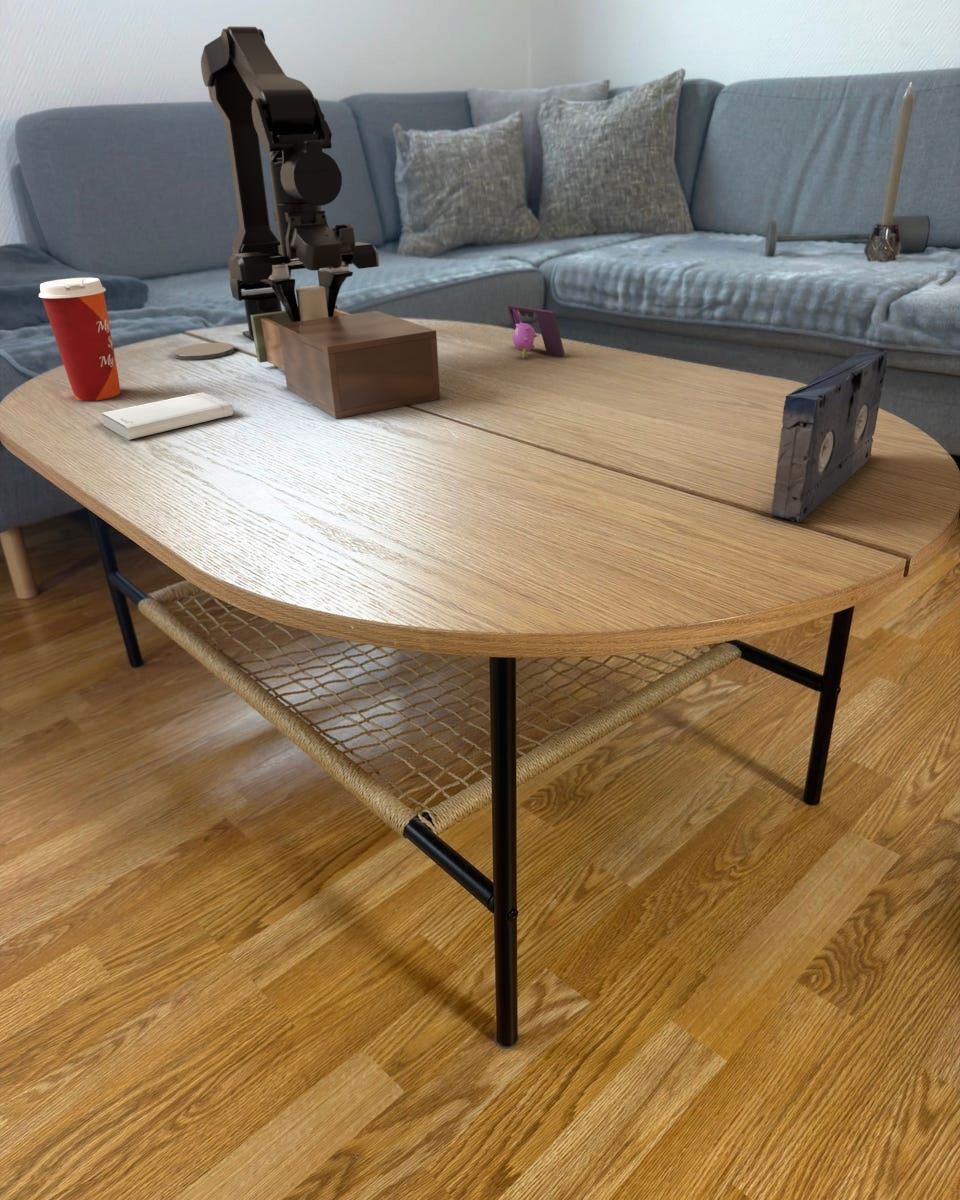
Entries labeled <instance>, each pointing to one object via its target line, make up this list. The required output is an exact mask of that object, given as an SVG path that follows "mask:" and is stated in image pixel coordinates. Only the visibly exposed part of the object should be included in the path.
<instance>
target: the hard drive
mask: <svg viewBox="0 0 960 1200" xmlns="http://www.w3.org/2000/svg"><path fill="white" fill-rule="evenodd" d="M233 415H234V408H233V405H232V404H231V403H230V402H228V401H226V400H223V399H221V398H218V397H217V396H214V395H211V394H209V393H206V392H203V391H201V392H197V393H191V394H186V395H183V396H177V397H172V398H168V399H163V400H157V401H153V402H149V403H144V404H139V405H134V406H129V407H124V408H118V409H114V410H109V411H105V412H101V413H100V417H101V421H102V425H103V426H105V427H106V428H108V429H110V430H111V431H112V432H115V433H116V434H118V435H119V436H122V437H123V438H124V439H126V440H128V441H129V440H134V439H137V438H142V437H147V436H151V435H155V434H159V433H164V432H167V431H172V430H177V429H180V428H183V427H189V426H192V425H196V424H201V423H205V422H209V421H214V420H218V419H222V418H226V417H231V416H233Z"/></svg>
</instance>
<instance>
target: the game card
mask: <svg viewBox="0 0 960 1200" xmlns="http://www.w3.org/2000/svg"><path fill="white" fill-rule="evenodd" d="M507 310H508V314H509V318H510V322H511V324H512V328H513V333H512V341H513V345H514V347H515V348H516V349H517V350H518V351H520V352H522V353H521V355H522V356H521V358H522V359H526V356H527V352H536V353H541V354H547V355H550V356H556V357H561V358H563V357H565V356H566V353H565V349H564V345H563V340H562V336H561V333H560V328H559V326H558V325H559V324H558V321H557V316H556V313H555V311H553V310H549V309H548V310H547V309H540V308H534V307H528V306H522V305H515V304H509V305H507ZM520 315H521V316H522V317H527V316H528V318H534V315H536V319H537V323H538V326H539V330H540V334H541V337H542V342H543V345H544V349H541V348H537V347H536V345H535V344H534V341H535V338H537V337H538V336H539V335H538V334H536V331H535V329H534V327H533V326H532V325H530V324H529V323H528V322H527V321H522V320H521V318H520Z"/></svg>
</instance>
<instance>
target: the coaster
mask: <svg viewBox="0 0 960 1200" xmlns="http://www.w3.org/2000/svg"><path fill="white" fill-rule="evenodd" d="M234 352H235V346H234V345H233V344H230V343H227V342H202V343H195V344H189V345H184V346H180V347H178V348H176V349H174V350H173V351H172V356H173V358H175V359H178V360H183V361H184V360H185V361H200V360H209V359H217V358H222V357H226V356H229V355H230V354H233V353H234Z"/></svg>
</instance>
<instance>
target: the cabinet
mask: <svg viewBox="0 0 960 1200" xmlns="http://www.w3.org/2000/svg"><path fill="white" fill-rule="evenodd" d="M278 327H279V335H280V342H281V349H282V356H283V363H284V370H285V371H284V375H285V383H286V389H287V390H288V391H290V392H292V393H293V394H296V396H298V397H300V398H302V399H303V400H305V401H307V403H310V404H311V405H313V406H314V407H316V408H318V409H320V410H322V412H324V413H326V414H327V415H329V416H330V417H332V418H334V419H336V420H337V419H341V418H342V419H343V418H346V417H352V416H358V415H362V414H369V413H373V412H379V411H383V410H389V409H394V408H399V407H404V406H410V405H415V404H421V403H425V402H430V401H436V400H441V389H440V388H441V387H440V371H439V355H438V339H437V330H436V329H433V328H430V327H426V326H424V325H421V324H418V323H415V322H412V321H409V320H406V319H403V318H400V317H398V316H395V315H391V314H388V313H385V312H382V311H380V310H373V311H364V312H358V313H350V314H349V315H342V316H335V317H328V318H320V319H313V320H306V321H298V322H291V323H284V324H278Z"/></svg>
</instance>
